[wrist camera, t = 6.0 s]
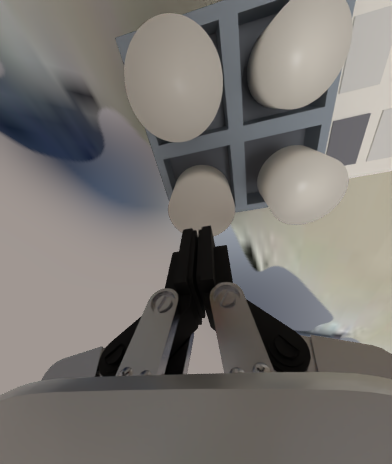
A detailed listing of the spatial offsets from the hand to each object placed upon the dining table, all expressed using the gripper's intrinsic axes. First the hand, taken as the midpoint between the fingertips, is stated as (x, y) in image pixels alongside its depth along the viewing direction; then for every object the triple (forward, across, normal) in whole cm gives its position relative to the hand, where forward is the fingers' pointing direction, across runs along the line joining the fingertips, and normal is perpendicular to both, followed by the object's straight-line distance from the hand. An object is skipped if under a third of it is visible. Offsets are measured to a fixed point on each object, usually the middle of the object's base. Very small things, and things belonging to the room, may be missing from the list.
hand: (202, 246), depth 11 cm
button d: (+8, -7, -1) cm, 11 cm away
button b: (+11, -7, -8) cm, 16 cm away
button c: (+8, 0, -1) cm, 8 cm away
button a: (+8, 0, -8) cm, 11 cm away
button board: (+12, -4, -4) cm, 13 cm away
